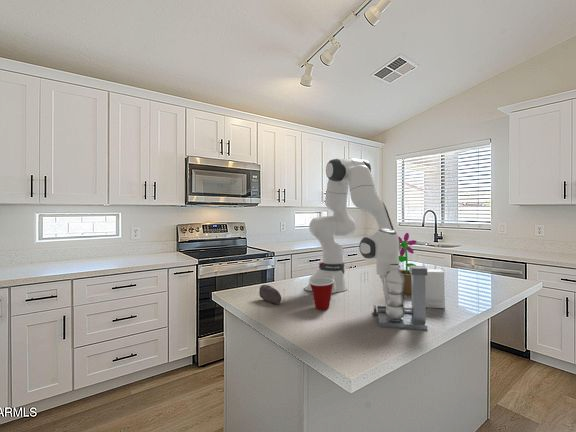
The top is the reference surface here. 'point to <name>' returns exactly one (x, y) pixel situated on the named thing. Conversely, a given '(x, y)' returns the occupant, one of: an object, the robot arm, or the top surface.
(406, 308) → the rail
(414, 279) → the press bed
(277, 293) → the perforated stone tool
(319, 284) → the plastic cup
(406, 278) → the flowerpot
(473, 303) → the top surface
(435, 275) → the skincare box
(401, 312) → the plastic bottle
